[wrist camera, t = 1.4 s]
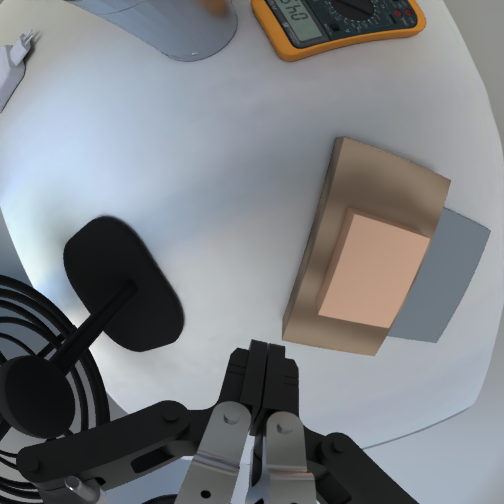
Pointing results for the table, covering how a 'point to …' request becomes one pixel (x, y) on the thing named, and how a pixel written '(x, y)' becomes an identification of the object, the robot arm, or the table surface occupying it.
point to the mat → (441, 278)
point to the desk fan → (81, 335)
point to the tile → (370, 269)
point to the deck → (329, 226)
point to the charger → (12, 66)
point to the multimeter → (334, 23)
